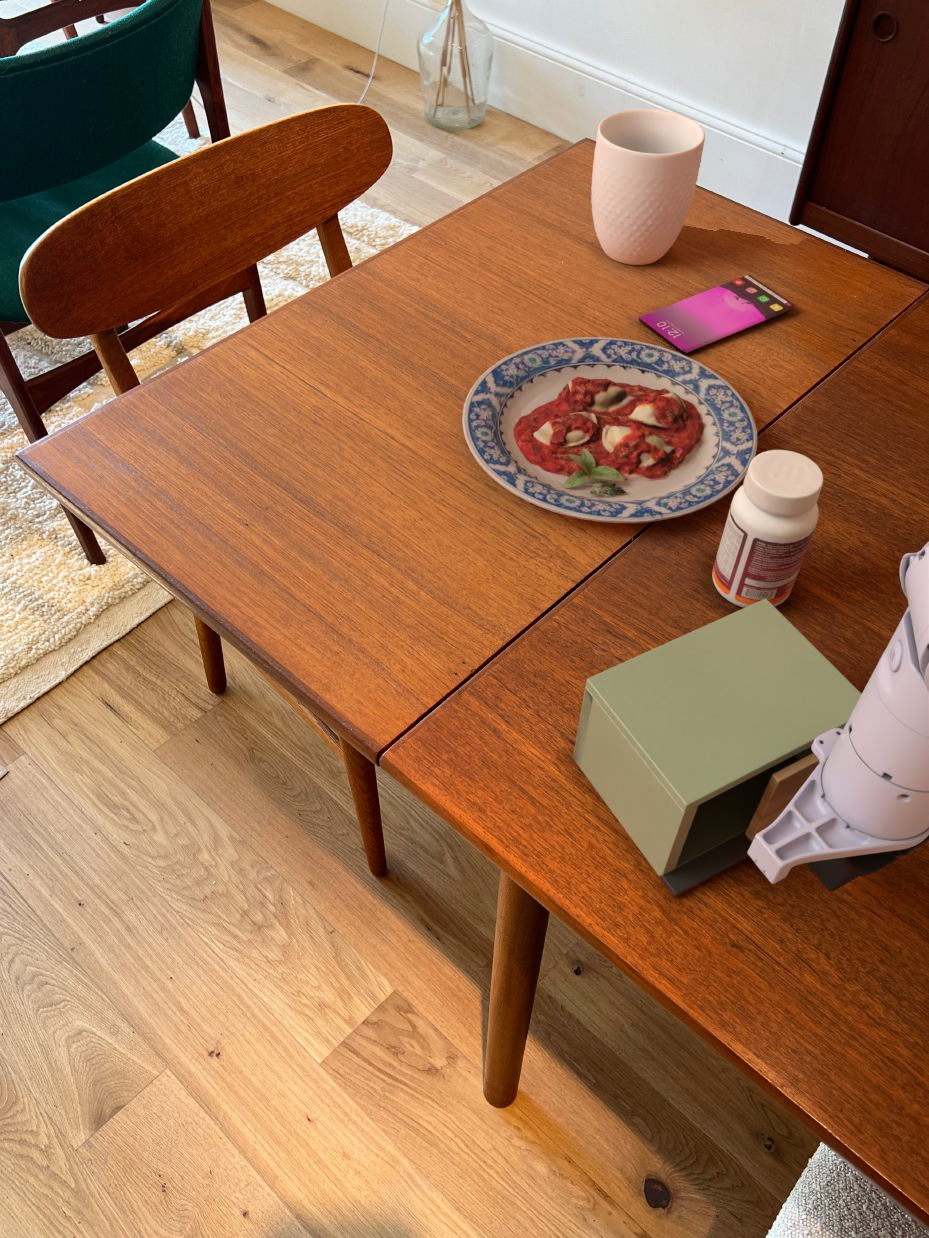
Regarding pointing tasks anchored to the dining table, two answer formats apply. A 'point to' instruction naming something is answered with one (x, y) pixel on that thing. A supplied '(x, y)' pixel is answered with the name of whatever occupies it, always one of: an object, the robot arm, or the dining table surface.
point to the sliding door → (781, 793)
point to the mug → (643, 182)
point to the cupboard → (706, 736)
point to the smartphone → (716, 314)
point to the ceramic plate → (609, 429)
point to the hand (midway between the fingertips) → (826, 873)
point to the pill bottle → (768, 529)
